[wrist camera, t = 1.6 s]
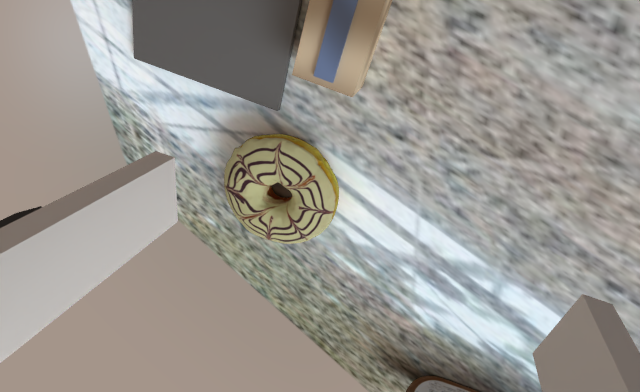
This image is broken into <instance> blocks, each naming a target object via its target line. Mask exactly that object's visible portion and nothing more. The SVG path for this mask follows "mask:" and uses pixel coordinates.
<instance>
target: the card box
mask: <svg viewBox="0 0 640 392" xmlns="http://www.w3.org/2000/svg"><path fill="white" fill-rule="evenodd" d="M391 3H392V0H310V1H309V5H308V9H307V14H306V18H305V22H304V26H303V31H302V35H301V39H300V44H299V48H298V52H297V56H296V61H295V65H294V69H293V73H292V75H294V76H297V77H299V78H302V79H305V80H307V81H310V82H313V83H315V84H318V85H321V86H323V87H326V88H329V89H331V90H334V91H337V92H339V93H342V94H345V95H347V96H350V97H353V96H354V95H355V94H356V93H357V92H358V91H359V90H360V89H361V88H362V86H363V83H364V81H365V78H366V75H367V72H368V69H369V66H370V63H371V60H372V57H373V55H374V52H375V49H376V46H377V43H378V40H379V37H380V34H381V32H382V29H383V26H384V23H385V20H386V17H387V14H388V11H389V9H390V6H391Z"/></svg>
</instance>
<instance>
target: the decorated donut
mask: <svg viewBox="0 0 640 392" xmlns="http://www.w3.org/2000/svg"><path fill="white" fill-rule="evenodd" d="M277 182H279V183H280V184H282V185H283V186H284V187H285V188H287V189H288V190H289V191H290V192H291V193H292V197H288V198H286V197H285V198H283V197H279V196H277V195H276V194H275V193H274V192H273V189H272V185H273V184H275V183H277ZM224 183H225V184H224V186H225V191H226V197H227V200H228V203H229V205H230V206H231V209H232V210H233V212H234V214H235V216H236V217H237V219H238V220H239V221H240V222H241V223H242V224H243V225H244V227H245V228H246V229H247V230H248V231H250V232H251V233H253V234H255V235H257V236H259V237H262V238H265V239H268V240H271V241H275V242H279V243H285V244H292V243H301V242H305V241H308V240H310V239H312V238H313V237H316V236H318V235H319V234H321V233H322V232H323V231H324V230H325V229H326V228H327V227H328V226H329V224H330V222H331V221H332V219H333V217H334V215H335V212H336V209H337V205H338V199H339V186H338V182H337V179H336V176H335V174H334V173H333V171H332V169H331V168H330V166H329V164H328V162H327V160H326V159H325V158H324V157H323V156H322V155H321V153H320V152H319V151H318V150H317V149H316V148H315V147H313V146H311V145H310V144H308V143H306V142H305V141H303V140H300V139H299V138H296V137H293V136H289V135H283V134H273V135H261V136H254V137H252V138H250V139H248V140H247V141H245V143H244V144H243V145H241V146H240V147H239V148H235V149H234V151H233V154H232V156H231V158H230V159H229V161H228V162H227V165H226V168H225V174H224Z"/></svg>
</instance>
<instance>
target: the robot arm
mask: <svg viewBox="0 0 640 392" xmlns="http://www.w3.org/2000/svg"><path fill="white" fill-rule="evenodd" d="M176 222H178V215H177V195H176V174H175V158H174V157H171V156H168V155H165V154H162V153H159V152H157V151H155V152H153V153H151V154H149V155H147V156H145V157H143V158H141V159H139V160H137V161H135V162H133V163H131V164H129V165H127V166H125V167H123V168H121V169H119V170H117V171H115V172H113V173H111V174H109V175H107V176H105V177H103V178H101V179H99V180H97V181H95V182H93V183H91V184H89V185H87V186H85V187H82V188H80V189H79V190H76V191H74V192H72V193H70V194H69V195H66V196H64V197H63V198H60V199H58V200H56V201H54V202H52V203H50V204H48V205H46V206H44V207H41V206H40V207H37V208H33V209H29V210H26V211H22V212H19V213H16V214H13V215H11V216H9V217H7V218H5V219H3V220H1V221H0V363H1V362H2V361H3V360H4V359H6V358H7V357H8V356H10V355H11V354H12V353H13V352H14V351H16V350H17V349H18V348H19V347H21V346H22V345H23V344H25V343H26V342H27V341H28V340H30V339H31V338H32V337H33V336H35V335H36V334H37V333H38V332H40V331H41V330H42V329H43V328H45V327H46V326H47V325H48V324H50V323H51V322H52V321H53V320H55V319H56V318H57V317H58V316H60V315H61V314H62V313H63V312H65V311H66V310H67V309H68V308H70V307H71V306H72V305H73V304H75V303H76V302H77V301H78V300H80V299H81V298H82V297H84V296H85V295H86V294H87V293H88V292H90V291H91V290H92V289H93V288H95V287H96V286H97V285H99V284H100V283H101V282H102V281H104V280H105V279H106V278H107V277H109V276H110V275H111V274H112V273H114V272H115V271H116V270H117V269H119V268H120V267H121V266H122V265H124V264H125V263H126V262H127V261H129V260H130V259H131V258H132V257H134V256H135V255H136V254H137V253H139V252H140V251H141V250H142V249H144V248H145V247H146V246H147V245H149V244H150V243H151V242H153V240H155V239H156V238H157V237H159V236H160V235H161V234H163V233H164V232H165V231H166V230H168V229H169V228H170V227H171V226H172V225H174V224H175V223H176ZM533 357H534V361H535V365H536V369H537V373H538V377H539V381H540V385H541V389H542V392H640V353H639V351H638V349H637V347H636V346H635V344H634V342H633V340H632V338H631V337H630V335H629V333H628V331H627V330H626V328H625V326H624V324H623V322H622V321H621V319H620V317H619V315H618V313H617V312H616V310H615V308H614V306H613V304H610V303H607V302H604V301H601V300H598V299H595V298H592V297H589V296H586V295H583V294H582V295H581V296H580V298H579V299H578V300H577V301H576V302H575V304H574V305H573V306H572V307H571V308H570V310H569V311H568V312H567V313H566V314H565V315H564V317H563V318H562V319H561V320H560V321H559V323H558V324H557V325H556V326H555V327H554V329H553V330H552V331H551V332H550V333H549V334H548V336H547V337H546V338H545V339H544V340H543V342H542V343H541V344H540V345H539V346H538V348H537V349H536V350H535V351H534V352H533Z"/></svg>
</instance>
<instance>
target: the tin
mask: <svg viewBox="0 0 640 392" xmlns="http://www.w3.org/2000/svg"><path fill="white" fill-rule="evenodd" d="M406 392H479V391H476V390H473V389H471V388H468V387H465V386H463V385H460V384H457V383H455V382H452V381H449V380H446V379H444V378H441V377H437V376H423V377H420V378H418V379H416V380H414V381H413V382H412V383H411V384H410V386H409V387H408V389H407V390H406Z"/></svg>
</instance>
